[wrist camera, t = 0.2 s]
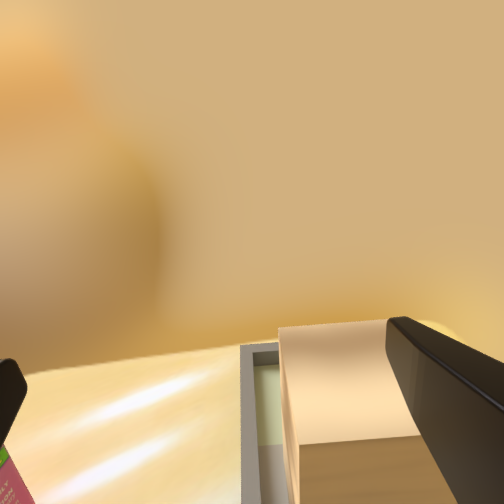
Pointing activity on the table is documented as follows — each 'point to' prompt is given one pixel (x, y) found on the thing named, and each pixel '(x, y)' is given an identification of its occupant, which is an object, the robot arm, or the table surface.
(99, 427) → the table surface
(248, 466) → the box
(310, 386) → the block
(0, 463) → the box
